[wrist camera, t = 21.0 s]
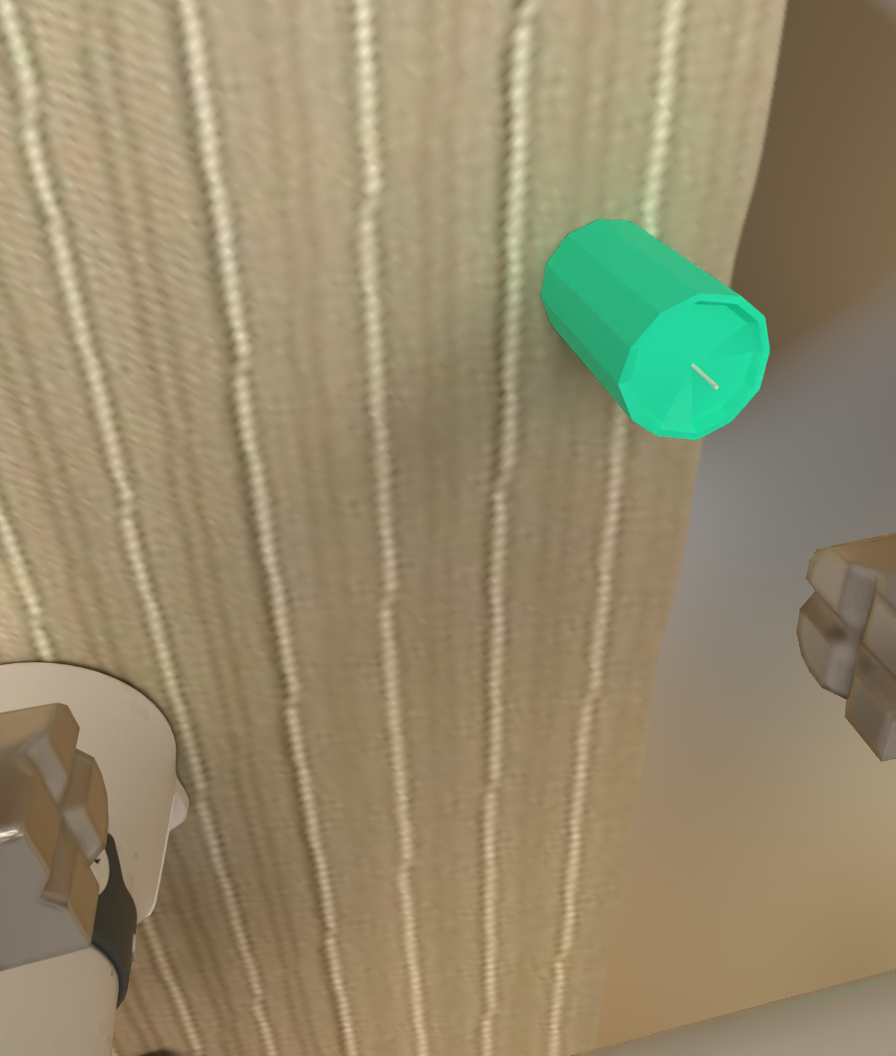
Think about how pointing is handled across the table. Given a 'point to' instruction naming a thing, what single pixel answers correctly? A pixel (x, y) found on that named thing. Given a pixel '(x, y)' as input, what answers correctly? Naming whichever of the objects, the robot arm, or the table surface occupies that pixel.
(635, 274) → the candle
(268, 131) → the table surface
